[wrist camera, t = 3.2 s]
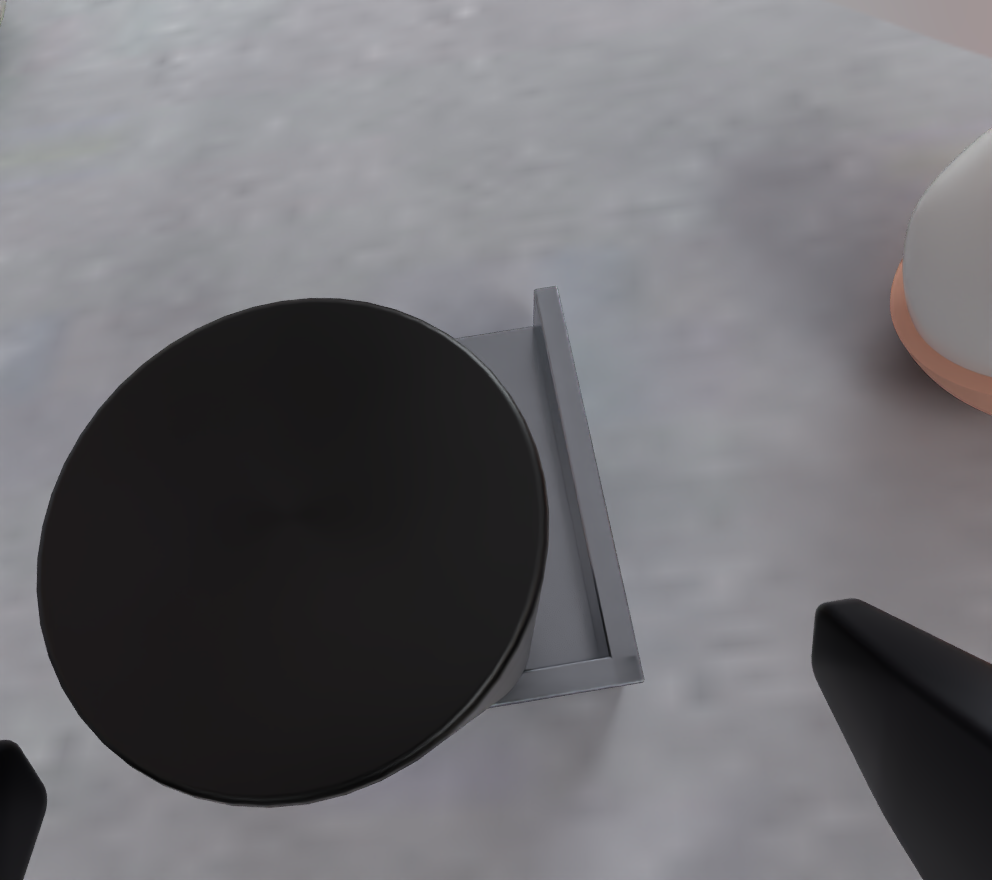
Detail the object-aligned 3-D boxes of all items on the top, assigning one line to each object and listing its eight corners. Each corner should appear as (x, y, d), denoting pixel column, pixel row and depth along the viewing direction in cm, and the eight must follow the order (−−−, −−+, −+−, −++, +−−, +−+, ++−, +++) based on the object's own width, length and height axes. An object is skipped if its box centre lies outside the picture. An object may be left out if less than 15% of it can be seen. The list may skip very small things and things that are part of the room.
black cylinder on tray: (627, 682, 15) (1034, 684, 3) (330, 731, 15) (-459, 934, 3) (553, 333, 19) (608, -334, 6) (308, 371, 18) (-111, -233, 6)
